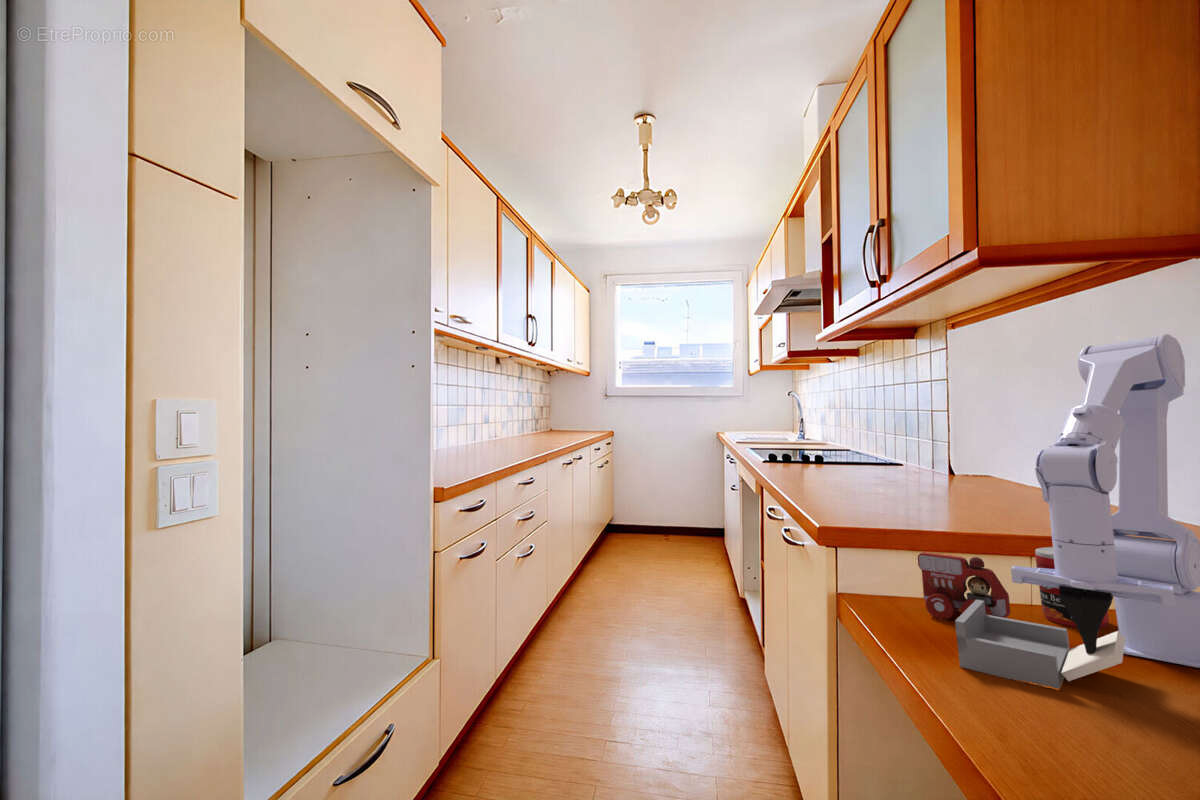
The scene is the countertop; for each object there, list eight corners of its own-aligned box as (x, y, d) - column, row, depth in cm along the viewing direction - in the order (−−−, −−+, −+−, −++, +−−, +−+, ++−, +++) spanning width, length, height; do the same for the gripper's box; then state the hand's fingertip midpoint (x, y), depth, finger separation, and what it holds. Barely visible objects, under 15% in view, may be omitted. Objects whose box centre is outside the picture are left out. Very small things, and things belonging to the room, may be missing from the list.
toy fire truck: (1006, 633, 78) (997, 564, 79) (916, 615, 87) (910, 554, 88) (1016, 621, 82) (1008, 556, 83) (930, 605, 92) (923, 547, 93)
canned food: (1030, 613, 85) (1022, 547, 86) (1079, 612, 85) (1070, 546, 86) (1071, 630, 78) (1061, 558, 79) (1124, 628, 77) (1114, 555, 78)
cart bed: (1070, 659, 68) (1065, 613, 69) (1059, 691, 60) (1053, 639, 61) (980, 640, 76) (976, 599, 76) (960, 666, 68) (955, 620, 68)
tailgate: (1079, 659, 67) (1128, 641, 63) (1071, 684, 60) (1125, 666, 57) (1069, 649, 67) (1117, 630, 64) (1061, 672, 61) (1113, 654, 58)
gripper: (1003, 538, 66) (1012, 644, 65) (1168, 555, 55) (1183, 683, 54) (1013, 530, 71) (1022, 630, 70) (1168, 545, 60) (1182, 663, 59)
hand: (1093, 652), depth 62 cm, fingers closed, pressing on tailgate
